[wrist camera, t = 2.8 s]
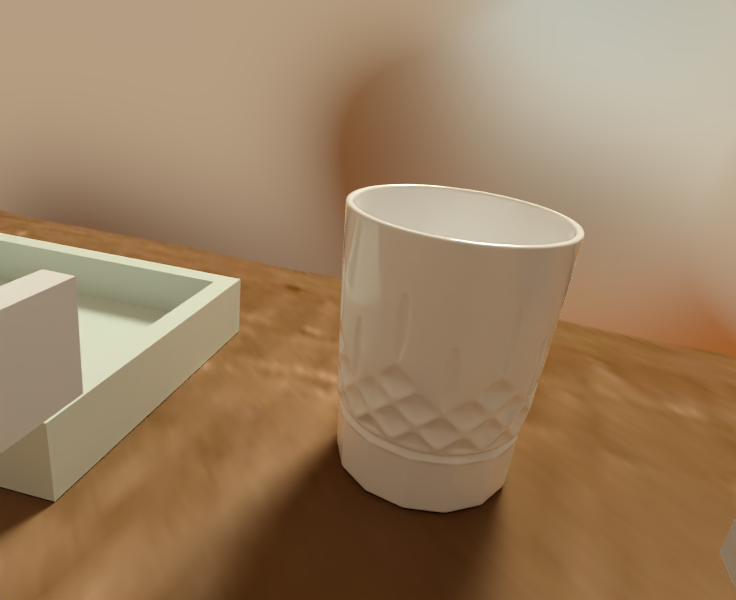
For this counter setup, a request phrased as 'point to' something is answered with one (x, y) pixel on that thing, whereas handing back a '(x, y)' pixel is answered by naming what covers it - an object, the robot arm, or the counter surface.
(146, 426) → the counter surface
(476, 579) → the counter surface
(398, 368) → the white cup
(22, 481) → the tray
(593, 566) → the counter surface
